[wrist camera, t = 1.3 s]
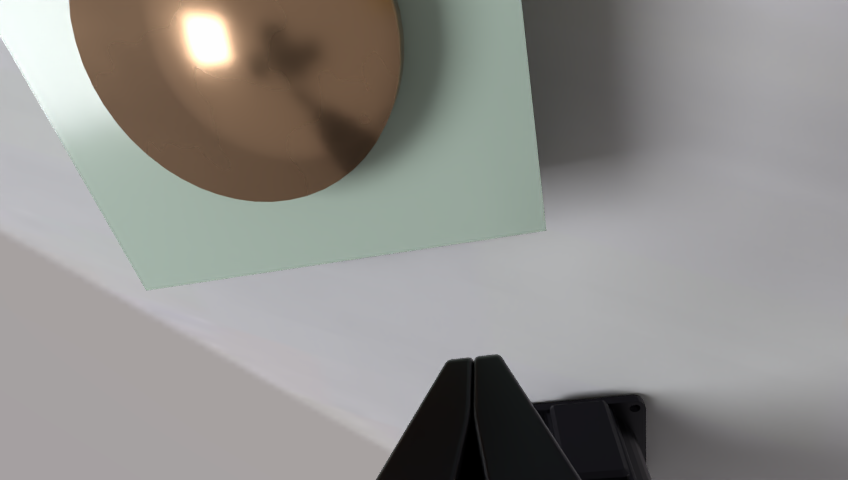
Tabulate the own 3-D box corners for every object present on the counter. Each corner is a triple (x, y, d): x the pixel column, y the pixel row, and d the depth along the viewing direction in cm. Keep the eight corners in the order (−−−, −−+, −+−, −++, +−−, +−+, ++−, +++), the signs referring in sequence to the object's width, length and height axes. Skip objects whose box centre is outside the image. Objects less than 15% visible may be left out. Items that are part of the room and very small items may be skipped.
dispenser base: (528, 170, 20) (546, 230, 16) (208, 225, 22) (146, 290, 18) (470, -314, 13) (473, -441, 9) (24, -168, 16) (-144, -215, 11)
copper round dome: (437, 120, 18) (429, 175, 13) (232, 159, 19) (162, 221, 15) (383, -154, 14) (345, -205, 10) (133, -83, 16) (-3, -99, 11)
